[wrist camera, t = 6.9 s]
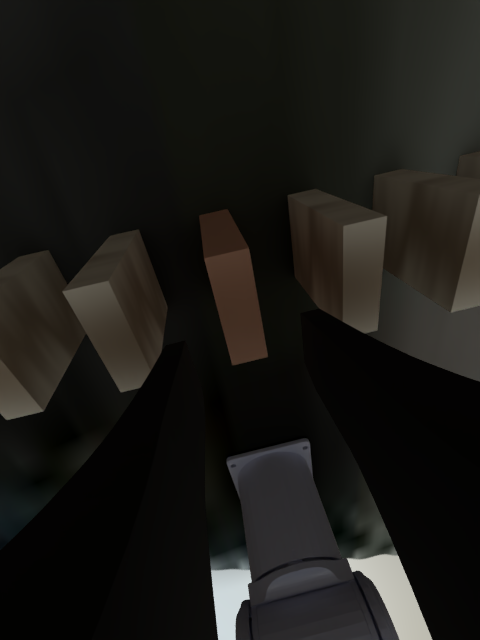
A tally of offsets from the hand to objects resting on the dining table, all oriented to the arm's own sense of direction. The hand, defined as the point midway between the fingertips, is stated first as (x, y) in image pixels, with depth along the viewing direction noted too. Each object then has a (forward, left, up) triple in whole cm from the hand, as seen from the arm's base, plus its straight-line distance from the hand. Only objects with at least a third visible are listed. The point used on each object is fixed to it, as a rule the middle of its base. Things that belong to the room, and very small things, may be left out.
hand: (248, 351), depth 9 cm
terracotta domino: (0, 0, -9) cm, 9 cm away
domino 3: (0, -5, -9) cm, 11 cm away
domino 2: (0, +5, -10) cm, 11 cm away
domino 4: (0, -10, -9) cm, 14 cm away
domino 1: (0, +10, -9) cm, 14 cm away
